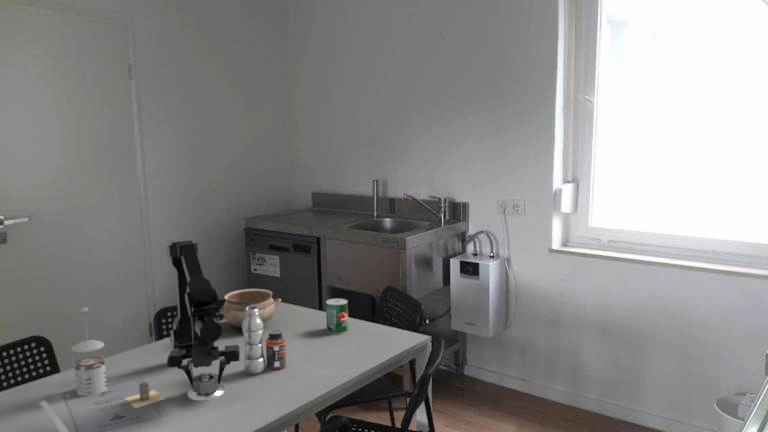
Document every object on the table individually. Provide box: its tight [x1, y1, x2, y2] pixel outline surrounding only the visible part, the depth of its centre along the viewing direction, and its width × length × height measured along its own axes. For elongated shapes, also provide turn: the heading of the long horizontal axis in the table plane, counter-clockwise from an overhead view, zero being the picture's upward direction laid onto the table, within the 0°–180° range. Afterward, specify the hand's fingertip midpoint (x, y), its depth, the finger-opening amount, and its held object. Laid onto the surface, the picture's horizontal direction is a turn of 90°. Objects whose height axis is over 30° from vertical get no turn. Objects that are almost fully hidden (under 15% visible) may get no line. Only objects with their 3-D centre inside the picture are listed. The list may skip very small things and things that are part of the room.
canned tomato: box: [325, 297, 349, 335], centre depth 215 cm, size 8×8×11 cm
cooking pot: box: [219, 288, 282, 329], centre depth 220 cm, size 25×19×12 cm
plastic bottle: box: [241, 307, 266, 375], centre depth 178 cm, size 6×7×20 cm
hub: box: [187, 375, 226, 402], centre depth 164 cm, size 10×10×6 cm
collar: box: [192, 372, 219, 394], centre depth 164 cm, size 7×7×3 cm
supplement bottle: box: [265, 329, 287, 371], centre depth 183 cm, size 6×6×11 cm
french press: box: [71, 306, 108, 397], centre depth 166 cm, size 10×12×25 cm
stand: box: [124, 381, 166, 409], centre depth 160 cm, size 8×8×6 cm
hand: (206, 385), depth 164 cm, fingers closed on collar, 7 cm apart
